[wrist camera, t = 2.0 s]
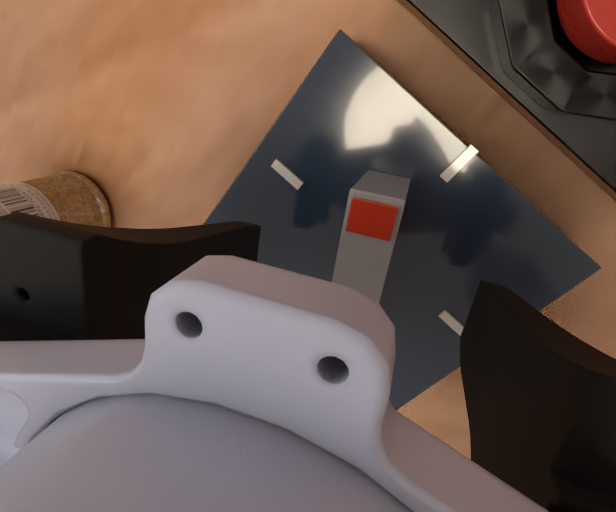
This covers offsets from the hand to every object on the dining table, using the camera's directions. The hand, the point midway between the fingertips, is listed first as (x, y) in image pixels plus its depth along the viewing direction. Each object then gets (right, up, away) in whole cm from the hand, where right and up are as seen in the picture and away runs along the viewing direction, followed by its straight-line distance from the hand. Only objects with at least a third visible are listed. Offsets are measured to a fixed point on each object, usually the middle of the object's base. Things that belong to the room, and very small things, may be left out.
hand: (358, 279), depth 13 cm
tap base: (+2, +2, +5) cm, 6 cm away
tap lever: (+1, +1, +3) cm, 3 cm away
